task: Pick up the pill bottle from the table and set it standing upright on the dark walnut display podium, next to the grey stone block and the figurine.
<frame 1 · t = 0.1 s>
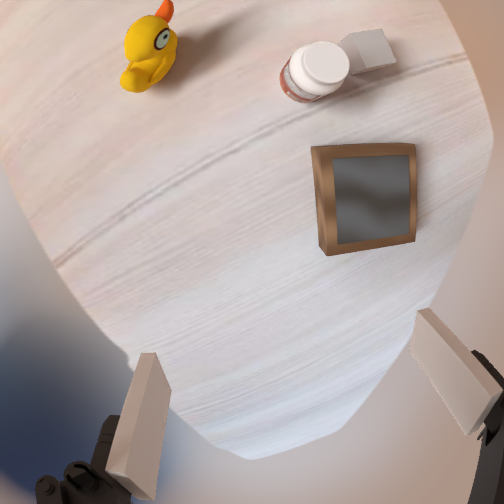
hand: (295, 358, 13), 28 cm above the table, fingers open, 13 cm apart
podium: (362, 192, 39), on the table
stone block: (358, 56, 32), on the table
pill bottle: (301, 82, 33), on the table
duckling: (158, 60, 31), on the table
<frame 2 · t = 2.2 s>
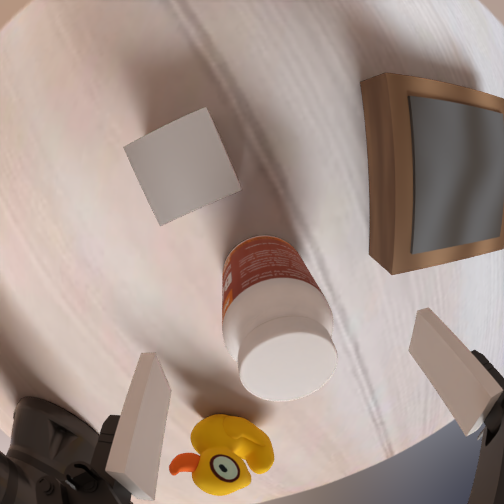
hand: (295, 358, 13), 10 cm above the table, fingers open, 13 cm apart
podium: (435, 168, 21), on the table
stone block: (191, 161, 20), on the table
pill bottle: (262, 270, 23), on the table
duckling: (225, 418, 29), on the table
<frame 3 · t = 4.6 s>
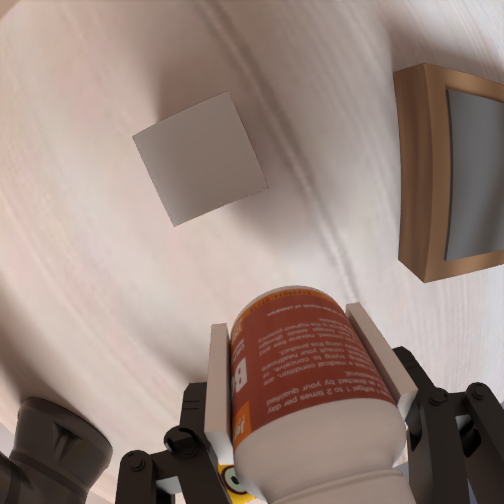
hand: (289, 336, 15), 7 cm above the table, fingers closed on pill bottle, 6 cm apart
podium: (467, 168, 18), on the table
stone block: (209, 154, 18), on the table
pill bottle: (287, 330, 15), point 6 cm above the table, touching gripper
duckling: (238, 425, 28), on the table
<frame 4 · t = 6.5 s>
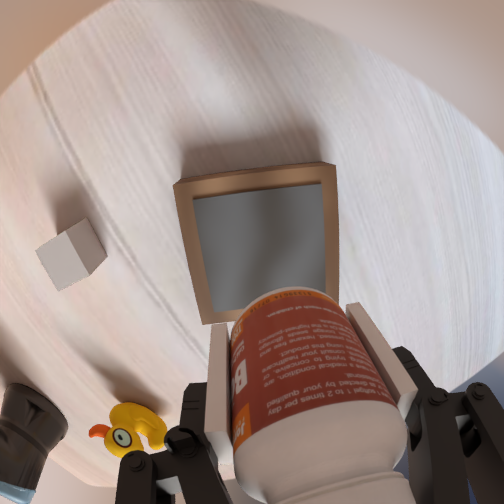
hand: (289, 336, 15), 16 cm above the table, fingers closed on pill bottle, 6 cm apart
podium: (260, 236, 30), on the table
stone block: (81, 245, 29), on the table
pill bottle: (288, 331, 15), point 16 cm above the table, touching gripper
duckling: (138, 406, 39), on the table
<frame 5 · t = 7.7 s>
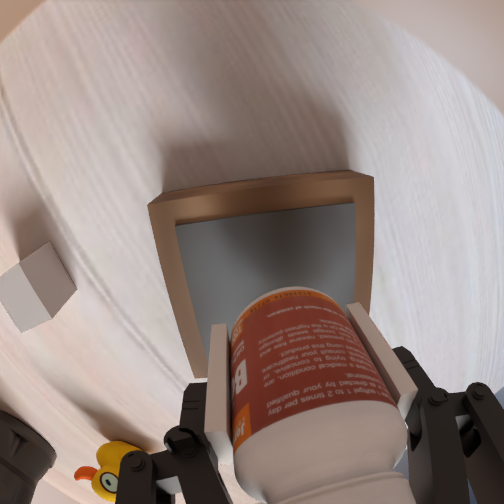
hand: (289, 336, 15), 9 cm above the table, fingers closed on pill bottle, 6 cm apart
podium: (268, 268, 23), on the table
stone block: (47, 274, 22), on the table
pill bottle: (288, 331, 15), point 8 cm above the table, touching gripper
duckling: (127, 444, 32), on the table
when the fingers open (5 cm above the table, at t = 8.7 s): pill bottle stays where it is, resting on podium.
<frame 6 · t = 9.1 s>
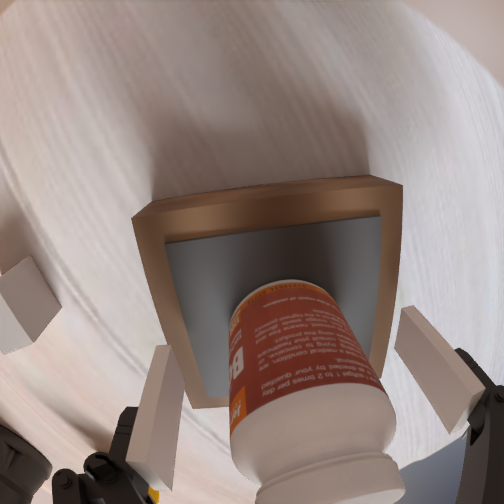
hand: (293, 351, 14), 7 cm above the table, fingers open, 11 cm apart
podium: (275, 287, 20), on the table
stone block: (29, 290, 19), on the table
pill bottle: (284, 323, 16), point 4 cm above the table, touching podium
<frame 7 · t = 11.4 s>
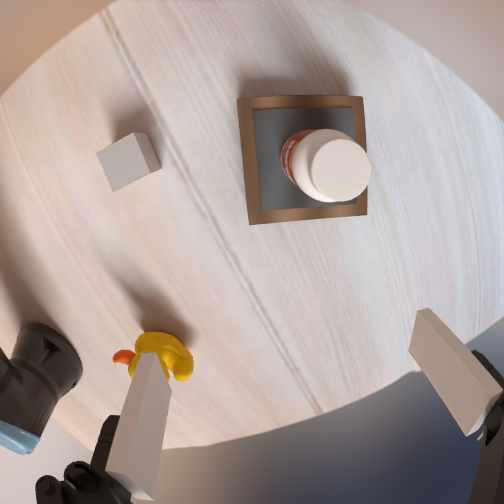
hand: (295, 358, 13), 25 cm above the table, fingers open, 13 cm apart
podium: (300, 155, 34), on the table
stone block: (137, 159, 33), on the table
pill bottle: (307, 158, 30), point 4 cm above the table, touching podium
duckling: (164, 338, 43), on the table
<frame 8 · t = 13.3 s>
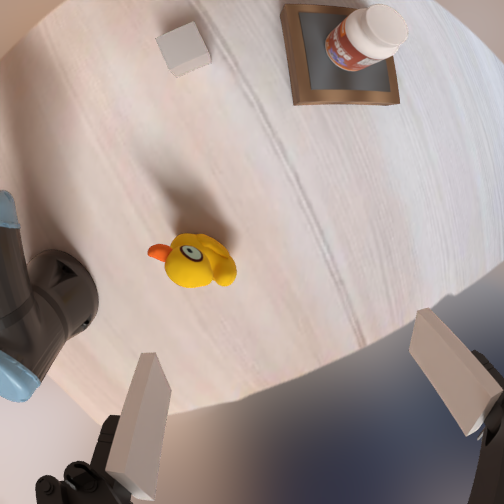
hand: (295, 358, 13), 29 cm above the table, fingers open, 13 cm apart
podium: (336, 58, 33), on the table
stone block: (187, 55, 32), on the table
pill bottle: (346, 51, 29), point 4 cm above the table, touching podium
duckling: (200, 247, 41), on the table
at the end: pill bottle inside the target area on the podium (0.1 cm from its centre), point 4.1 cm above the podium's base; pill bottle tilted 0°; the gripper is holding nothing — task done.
